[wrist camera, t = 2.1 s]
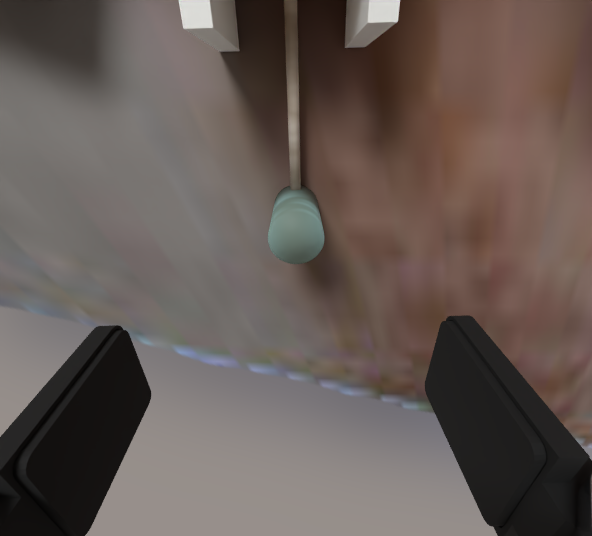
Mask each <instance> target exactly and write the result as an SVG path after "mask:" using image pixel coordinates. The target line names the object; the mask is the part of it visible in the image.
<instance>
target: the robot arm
mask: <svg viewBox="0 0 592 536" xmlns="http://www.w3.org/2000/svg"><path fill="white" fill-rule="evenodd" d="M425 391H426V394H427V397H428V399H429V401H430V403H431V405H432V408H433V410H434V412H435V414H436V416H437V418H438V421H439V423H440V425H441V427H442V429H443V432H444V434H445V436H446V438H447V440H448V442H449V445H450V447H451V449H452V451H453V453H454V455H455V458H456V460H457V462H458V464H459V466H460V469H461V471H462V473H463V475H464V477H465V479H466V482H467V484H468V486H469V488H470V490H471V492H472V495H473V497H474V499H475V501H476V503H477V505H478V508H479V510H480V512H481V514H482V516H483V518H484V520H485V521H486V523H487V524H488V525H489V526H493V527H494V529H495V531H496V533H497V535H498V536H592V460H591V459H590V458H589V455H588V454H587V453H586V452H585V451H584V449H583V448H582V447H581V446H580V445H579V443H578V442H577V441H576V440H575V439H574V437H573V436H572V435H571V434H570V433H569V431H568V430H567V429H566V428H565V427H564V425H563V424H562V423H561V422H560V421H559V420H558V418H557V417H556V416H555V415H554V414H553V412H552V411H551V410H550V409H549V408H548V406H547V405H546V404H545V403H544V402H543V400H542V399H541V398H540V397H539V396H538V394H537V393H536V392H535V391H534V390H533V388H532V387H531V386H530V385H529V384H528V383H527V381H526V380H525V379H524V378H523V377H522V375H521V374H520V373H519V372H518V371H517V369H516V368H515V367H514V366H513V365H512V363H511V362H510V361H509V360H508V359H507V357H506V356H505V355H504V354H503V353H502V352H501V350H500V349H499V348H498V347H497V346H496V344H495V343H494V342H493V341H492V340H491V338H490V337H489V336H488V335H487V334H486V332H485V331H484V330H483V329H482V328H481V326H480V325H479V324H478V323H477V322H476V321H475V319H474V318H473V317H472V316H449V317H448V318H447V319H446V321H443V322H442V323H441V325H440V328H439V332H438V336H437V340H436V343H435V347H434V351H433V355H432V358H431V362H430V366H429V370H428V373H427V377H426V381H425ZM150 399H151V390H150V387H149V385H148V382H147V379H146V377H145V375H144V372H143V369H142V367H141V364H140V361H139V359H138V356H137V354H136V351H135V348H134V346H133V343H132V341H131V338H130V336H129V333H128V332H127V331H126V330H123V328H122V327H121V326H98V327H96V328H95V329H94V330H93V331H92V332H91V333H90V334H89V335H88V337H87V338H86V339H85V340H84V341H83V342H82V344H81V345H80V346H79V347H78V348H77V349H76V350H75V352H74V353H73V354H72V355H71V356H70V357H69V358H68V360H67V361H66V362H65V363H64V364H63V365H62V367H61V368H60V369H59V370H58V371H57V372H56V374H55V375H54V376H53V377H52V378H51V379H50V380H49V381H48V383H47V384H46V385H45V386H44V387H43V388H42V390H41V391H40V392H39V393H38V394H37V395H36V397H35V398H34V399H33V400H32V401H31V402H30V403H29V405H28V406H27V407H26V408H25V409H24V410H23V412H22V413H21V414H20V415H19V416H18V417H17V419H16V420H15V421H14V422H13V423H12V424H11V425H10V426H9V428H8V429H7V430H6V431H5V432H4V434H3V435H2V436H1V437H0V536H85V535H86V534H87V532H88V531H89V529H90V528H91V526H92V524H93V522H94V519H95V517H96V515H97V513H98V511H99V509H100V507H101V505H102V502H103V500H104V498H105V496H106V494H107V492H108V490H109V488H110V486H111V483H112V481H113V479H114V477H115V475H116V473H117V471H118V469H119V466H120V464H121V462H122V460H123V458H124V455H125V453H126V452H127V449H128V447H129V445H130V443H131V441H132V439H133V437H134V435H135V433H136V430H137V428H138V426H139V424H140V422H141V420H142V418H143V416H144V413H145V411H146V409H147V407H148V405H149V403H150Z"/></svg>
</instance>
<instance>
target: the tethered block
mask: <svg viewBox="0 0 592 536" xmlns="http://www.w3.org/2000/svg"><path fill="white" fill-rule="evenodd" d="M284 18H285V46H286V75H287V104H288V133H289V161H290V186H288V187H286V188H284V189H283V190H282V191H280V193H279V194H278V195H277V197H276V200H275V204H274V209H273V214H272V219H271V223H270V228H269V233H268V243H269V247H270V249H271V251H272V252H273V253H274V255H275V256H276V257H277V258H279V259H280V260H282V261H284V262H287V263H291V264H302V263H306V262H308V261H310V260H312V259H314V258H315V257H316V256H317V255H318V254H319V253H320V251H321V249H322V247H323V245H324V231H323V226H322V222H321V217H320V212H319V207H318V203H317V199H316V197H315V195H314V193H313V192H312V191H311V190H310V189H308V188H307V187H305V186H302V185H301V178H300V123H299V68H298V13H297V0H284Z"/></svg>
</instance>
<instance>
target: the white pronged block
mask: <svg viewBox="0 0 592 536" xmlns="http://www.w3.org/2000/svg"><path fill="white" fill-rule="evenodd" d="M179 5H180V11H181V17H182V23H183V29H185V30H186V31H188V32H189V33H191V34H192V35H194V36H195V37H197V38H199V39H200V40H202V41H203V42H205V43H206V44H208V45H210V46H211V47H213V48H214V49H216V50H217V51H219V52H230V51H240V49H239V39H238V28H237V18H236V7H235V0H179ZM399 6H400V0H347V5H346V28H345V48H356V47H366V46H367V45H369V44H370V43H371V42H372V41H374V40H375V39H376V38H378V37H379V36H380V35H381V34H383V33H384V32H385V31H387V30H388V29H389V28H390V27H392V26H393V25H394V24H396V23H397V22H398V15H399Z"/></svg>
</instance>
